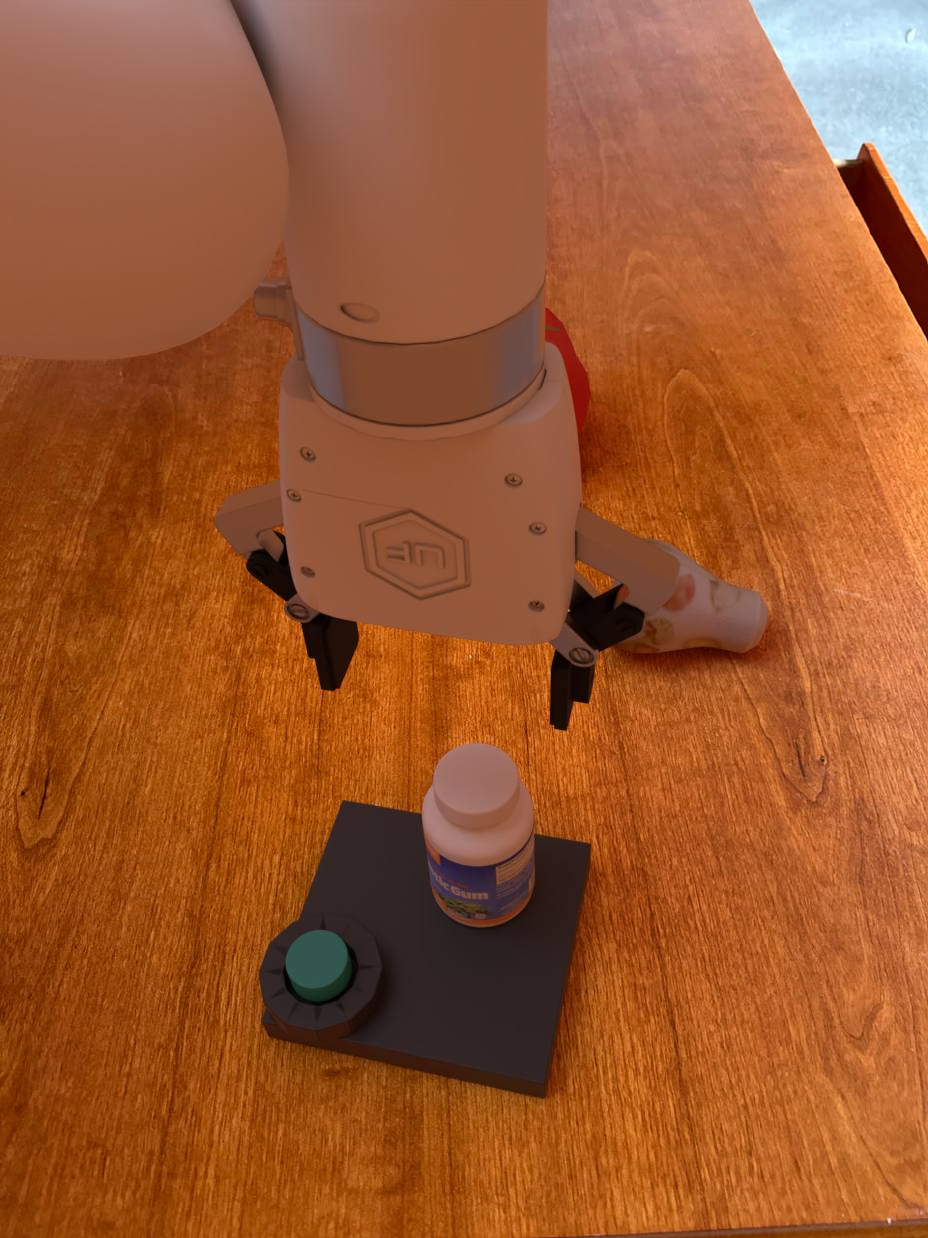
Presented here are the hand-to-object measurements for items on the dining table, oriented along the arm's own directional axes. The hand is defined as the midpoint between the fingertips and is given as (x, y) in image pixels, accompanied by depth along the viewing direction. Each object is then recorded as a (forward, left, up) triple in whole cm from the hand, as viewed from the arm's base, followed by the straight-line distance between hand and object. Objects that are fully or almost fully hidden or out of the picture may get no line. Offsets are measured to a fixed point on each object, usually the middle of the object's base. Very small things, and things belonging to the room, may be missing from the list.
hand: (451, 683), depth 47 cm
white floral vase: (+9, +21, -19) cm, 29 cm away
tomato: (-7, +37, -19) cm, 42 cm away
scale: (-1, -3, -18) cm, 19 cm away
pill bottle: (+1, 0, -17) cm, 17 cm away
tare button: (-6, -7, -15) cm, 18 cm away
